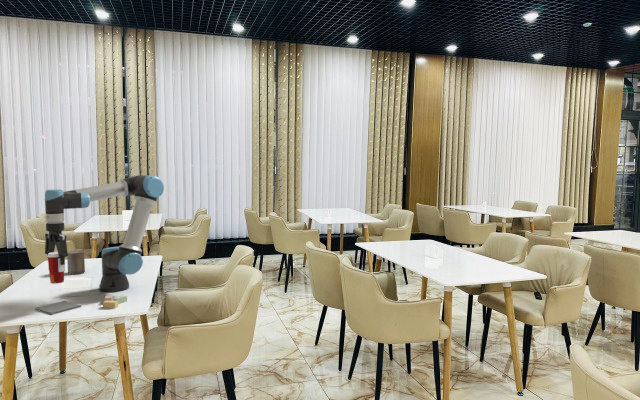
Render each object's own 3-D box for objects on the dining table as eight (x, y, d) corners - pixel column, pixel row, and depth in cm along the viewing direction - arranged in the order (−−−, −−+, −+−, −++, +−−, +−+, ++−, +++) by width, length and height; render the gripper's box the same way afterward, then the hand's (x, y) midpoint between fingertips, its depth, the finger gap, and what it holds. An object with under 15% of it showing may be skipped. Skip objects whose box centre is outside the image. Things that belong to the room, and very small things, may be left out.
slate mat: (64, 302, 234) (64, 300, 233) (81, 306, 226) (81, 305, 226) (35, 309, 222) (35, 308, 222) (51, 314, 214) (51, 313, 214)
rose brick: (106, 301, 237) (105, 295, 236) (112, 300, 238) (112, 294, 237) (105, 304, 231) (104, 298, 231) (111, 303, 232) (111, 297, 232)
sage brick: (122, 301, 237) (122, 295, 236) (127, 301, 235) (126, 296, 235) (112, 304, 231) (112, 298, 231) (117, 305, 230) (116, 299, 230)
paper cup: (69, 280, 227) (68, 251, 226) (61, 284, 219) (60, 254, 218) (53, 280, 226) (51, 251, 225) (44, 284, 219) (43, 254, 218)
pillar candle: (88, 271, 300) (87, 248, 299) (79, 275, 290) (77, 251, 289) (74, 271, 301) (72, 248, 300) (64, 274, 291) (63, 250, 290)
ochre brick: (103, 308, 225) (102, 302, 224) (106, 306, 228) (106, 300, 227) (115, 308, 224) (114, 302, 224) (118, 306, 227) (118, 300, 227)
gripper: (35, 221, 223) (36, 269, 225) (59, 224, 212) (61, 274, 214) (51, 220, 229) (52, 266, 231) (75, 223, 219) (77, 271, 220)
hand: (56, 270), depth 222 cm, fingers closed on paper cup, 8 cm apart
